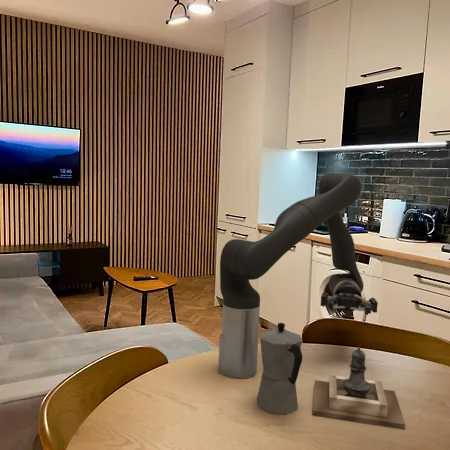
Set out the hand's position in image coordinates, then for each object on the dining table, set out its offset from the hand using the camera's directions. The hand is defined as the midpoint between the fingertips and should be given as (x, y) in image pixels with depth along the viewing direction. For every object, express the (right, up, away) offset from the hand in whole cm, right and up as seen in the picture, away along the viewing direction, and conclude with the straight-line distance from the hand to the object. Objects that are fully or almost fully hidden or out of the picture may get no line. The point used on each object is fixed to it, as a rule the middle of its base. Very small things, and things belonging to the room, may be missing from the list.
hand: (349, 308), depth 111 cm
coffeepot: (-19, -18, -15) cm, 31 cm away
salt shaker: (-2, -18, -13) cm, 22 cm away
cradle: (-2, -18, -13) cm, 23 cm away
